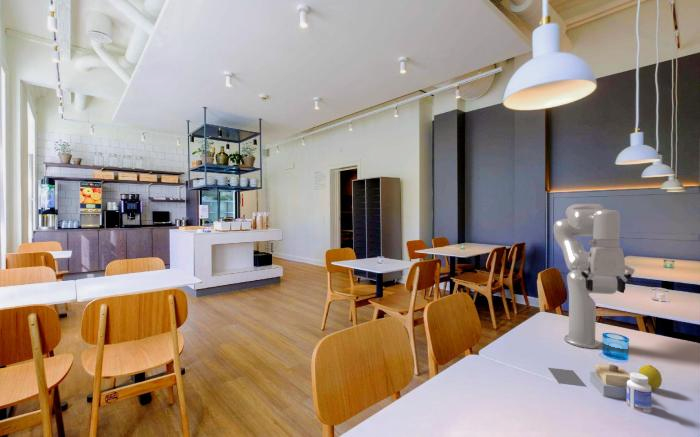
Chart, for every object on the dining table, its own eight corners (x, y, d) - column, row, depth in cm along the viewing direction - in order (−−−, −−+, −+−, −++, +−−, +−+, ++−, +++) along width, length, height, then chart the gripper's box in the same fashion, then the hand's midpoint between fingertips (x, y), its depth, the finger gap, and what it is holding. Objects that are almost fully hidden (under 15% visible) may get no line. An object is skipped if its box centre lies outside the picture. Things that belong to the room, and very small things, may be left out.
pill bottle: (656, 412, 92) (656, 379, 92) (642, 416, 91) (643, 381, 91) (634, 402, 98) (635, 370, 97) (621, 405, 96) (622, 372, 96)
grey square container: (590, 383, 108) (590, 371, 108) (622, 387, 106) (622, 374, 106) (603, 398, 100) (603, 385, 99) (638, 402, 97) (638, 389, 97)
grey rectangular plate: (547, 369, 118) (547, 367, 118) (573, 372, 116) (573, 370, 116) (558, 385, 107) (558, 383, 107) (586, 388, 105) (586, 386, 105)
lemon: (665, 395, 101) (665, 370, 101) (643, 392, 103) (643, 367, 103) (655, 386, 106) (656, 362, 106) (634, 383, 108) (635, 359, 108)
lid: (595, 373, 107) (595, 359, 107) (620, 376, 105) (620, 362, 105) (605, 384, 100) (606, 370, 100) (632, 387, 98) (633, 373, 98)
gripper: (582, 244, 116) (582, 292, 117) (640, 245, 112) (639, 295, 112) (574, 242, 124) (573, 287, 124) (628, 243, 119) (627, 290, 119)
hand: (604, 291), depth 118 cm, fingers open, 9 cm apart
